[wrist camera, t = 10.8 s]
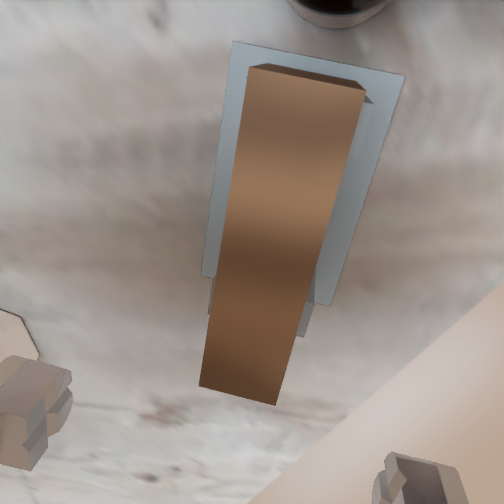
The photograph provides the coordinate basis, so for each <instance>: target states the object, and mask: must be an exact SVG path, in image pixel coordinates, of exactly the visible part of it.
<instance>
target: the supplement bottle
mask: <svg viewBox="0 0 504 504" xmlns="http://www.w3.org/2000/svg"><path fill="white" fill-rule="evenodd" d="M287 1H288V3H289V4H290V5H291V7H292V8H293V9H294V10H295V11H296V12H297V13H298V14H299V15H300V16H301V17H302V18H304V19H305V20H307V21H308V22H310V23H312V24H314V25H317V26H319V27H323V28H329V29H341V28H347V27H351V26H355V25H357V24H360V23H362V22H364V21H366V20H367V19H369V18H370V17H372V16H373V15H375V14H376V13H377V12H379V11H380V10H381V9H382V8H383V7H385V6H386V5H387V4H388V3H389V2H390V1H391V0H287Z"/></svg>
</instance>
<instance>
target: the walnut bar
mask: <svg viewBox="0 0 504 504" xmlns="http://www.w3.org/2000/svg"><path fill="white" fill-rule="evenodd" d="M366 92H367V91H366V90H365V89H364V88H363V87H362V86H361V85H360V84H359V83H358V82H357V81H354V80H349V79H344V78H339V77H334V76H329V75H324V74H319V73H314V72H310V71H305V70H300V69H295V68H290V67H285V66H280V65H275V64H270V63H265V64H260V65H255V66H251V67H249V69H248V76H247V82H246V88H245V95H244V101H243V107H242V114H241V120H240V127H239V133H238V139H237V146H236V152H235V158H234V165H233V171H232V177H231V184H230V190H229V196H228V203H227V209H226V216H225V222H224V228H223V235H222V241H221V247H220V254H219V260H218V266H217V273H216V279H215V285H214V292H213V298H212V305H211V311H210V317H209V324H208V330H207V336H206V343H205V349H204V355H203V362H202V368H201V374H200V381H199V386H200V387H204V388H208V389H212V390H216V391H220V392H224V393H228V394H231V395H235V396H239V397H243V398H247V399H251V400H255V401H259V402H263V403H266V404H270V405H274V406H276V402H277V399H278V395H279V392H280V388H281V385H282V382H283V378H284V375H285V371H286V368H287V364H288V361H289V357H290V354H291V350H292V347H293V344H294V340H295V337H296V333H297V330H298V326H299V323H300V319H301V316H302V312H303V309H304V306H305V302H306V299H307V295H308V292H309V288H310V285H311V281H312V278H313V275H314V271H315V268H316V264H317V261H318V257H319V254H320V250H321V247H322V243H323V240H324V237H325V233H326V230H327V226H328V223H329V219H330V216H331V212H332V209H333V205H334V202H335V199H336V195H337V192H338V188H339V185H340V181H341V178H342V174H343V171H344V167H345V164H346V161H347V157H348V154H349V150H350V147H351V143H352V140H353V136H354V133H355V130H356V126H357V123H358V119H359V116H360V112H361V109H362V105H363V102H364V98H365V95H366Z"/></svg>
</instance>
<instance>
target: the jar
mask: <svg viewBox="0 0 504 504" xmlns="http://www.w3.org/2000/svg"><path fill="white" fill-rule="evenodd" d="M11 355H16V356H20V357H23V358H27V359H31V360H35V361H36V360H37V359H38V358H39V353H38V351H37V349H36V347H35V345H34V343H33V341H32V339H31V337H30V335H29V333H28V331H27V330H26V328H25V326H24V324H23V322H22V320H21V318H20V317H18V316H15V315H13V314H10V313H7V312H5V311H2V310H0V363H1V362H2V361H3V360H4V359H5V358H7V357H9V356H11Z"/></svg>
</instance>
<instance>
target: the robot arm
mask: <svg viewBox="0 0 504 504" xmlns="http://www.w3.org/2000/svg"><path fill="white" fill-rule="evenodd" d="M71 381H72V376H71V371H69V370H66V369H63V368H59V367H56V366H52V365H49V364H45V363H42V362H38V361H35V360H31V359H27V358H23V357H20V356H16V355H11V356H9V357H7V358H5V359H4V360H3V361H2V362H1V363H0V464H2V465H7V466H11V467H15V468H19V469H24V470H28V471H31V470H32V469H33V468H34V466H35V465H36V463H37V462H38V460H39V459H40V458H41V456H42V455H43V453H44V452H45V450H46V449H47V448H48V438H47V437H49V436H51V435H53V434H55V433H57V432H58V431H59V430H60V429H61V427H62V426H63V424H64V423H65V421H66V419H67V417H68V415H69V412H70V410H71V405H72V393H71V391H70V390H69V389H68V385H69V384H70V383H71ZM384 463H385V470H383V471H381V472H379V473H378V474H377V477H376V479H375V481H374V486H373V491H372V504H469V502H468V500H467V496H466V494H465V491H464V487H463V485H462V482H461V479H460V476H459V473H458V471H457V470H456V469H455V468H454V467H450V466H446V465H442V464H438V463H434V462H431V461H428V460H423V459H419V458H415V457H411V456H407V455H403V454H398V453H395V452H390V453H389V454H388V455H387V457H386V459H385V460H384Z"/></svg>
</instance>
